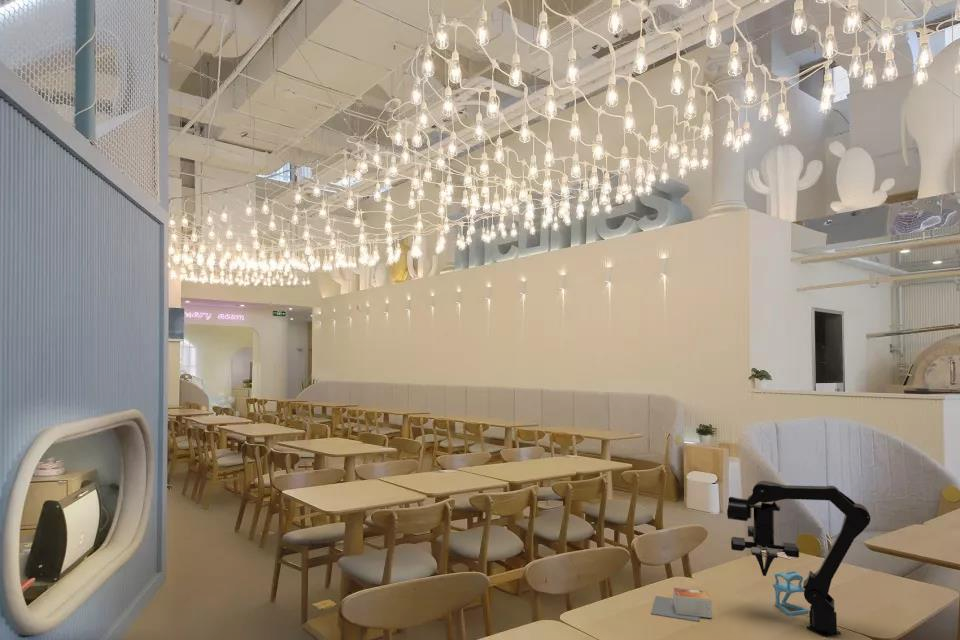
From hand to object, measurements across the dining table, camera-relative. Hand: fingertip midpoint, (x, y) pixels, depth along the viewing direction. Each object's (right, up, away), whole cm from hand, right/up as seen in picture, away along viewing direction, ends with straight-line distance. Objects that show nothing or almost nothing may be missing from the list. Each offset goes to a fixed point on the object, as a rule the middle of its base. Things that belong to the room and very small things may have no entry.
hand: (764, 575), depth 190 cm
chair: (+11, -14, +8) cm, 20 cm away
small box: (-16, -10, +2) cm, 19 cm away
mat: (-25, -13, +6) cm, 29 cm away
